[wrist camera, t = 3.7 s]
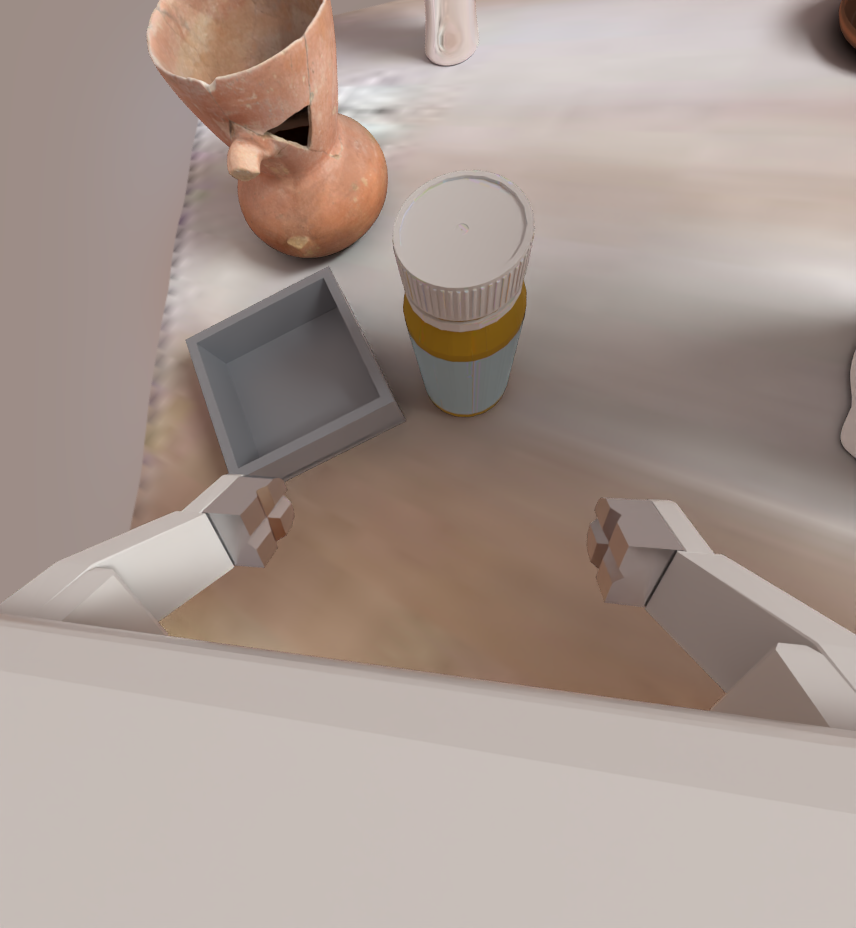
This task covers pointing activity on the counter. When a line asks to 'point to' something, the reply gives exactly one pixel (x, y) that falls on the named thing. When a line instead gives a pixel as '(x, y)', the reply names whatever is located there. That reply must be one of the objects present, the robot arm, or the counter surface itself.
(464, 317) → the bottle
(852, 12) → the cup and saucer
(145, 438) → the counter surface
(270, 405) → the box
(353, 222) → the ceramic jug
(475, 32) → the beer glass
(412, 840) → the robot arm
